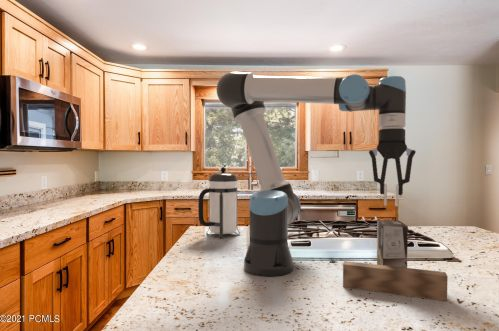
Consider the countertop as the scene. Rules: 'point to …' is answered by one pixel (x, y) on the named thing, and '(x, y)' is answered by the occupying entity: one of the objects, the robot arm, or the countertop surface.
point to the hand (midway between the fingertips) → (391, 205)
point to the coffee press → (221, 204)
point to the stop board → (395, 280)
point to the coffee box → (392, 243)
